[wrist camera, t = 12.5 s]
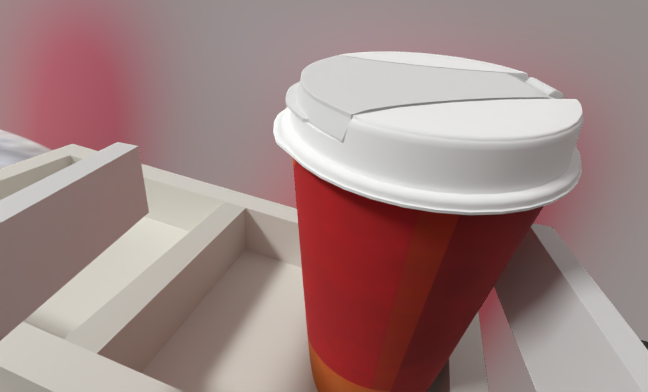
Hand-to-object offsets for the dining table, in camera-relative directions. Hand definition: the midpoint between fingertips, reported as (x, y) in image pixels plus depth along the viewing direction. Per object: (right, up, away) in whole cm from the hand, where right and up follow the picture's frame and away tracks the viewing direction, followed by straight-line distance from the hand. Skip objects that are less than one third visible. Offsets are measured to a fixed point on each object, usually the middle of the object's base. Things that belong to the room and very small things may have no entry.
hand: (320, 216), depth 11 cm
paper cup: (+2, -8, +5) cm, 10 cm away
